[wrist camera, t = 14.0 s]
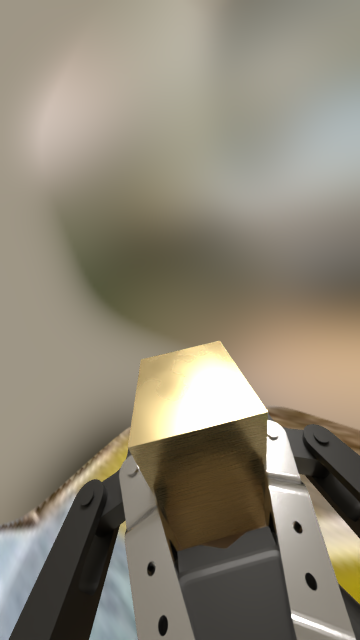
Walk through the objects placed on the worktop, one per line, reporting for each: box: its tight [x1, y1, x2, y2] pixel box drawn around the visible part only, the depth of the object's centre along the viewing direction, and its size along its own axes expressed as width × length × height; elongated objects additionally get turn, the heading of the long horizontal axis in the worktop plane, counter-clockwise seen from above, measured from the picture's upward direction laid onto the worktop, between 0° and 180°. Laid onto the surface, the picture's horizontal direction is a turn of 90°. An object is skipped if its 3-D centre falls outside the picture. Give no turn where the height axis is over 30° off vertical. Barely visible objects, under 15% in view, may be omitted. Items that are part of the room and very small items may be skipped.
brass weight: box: [128, 341, 268, 549], centre depth 10 cm, size 5×5×10 cm
